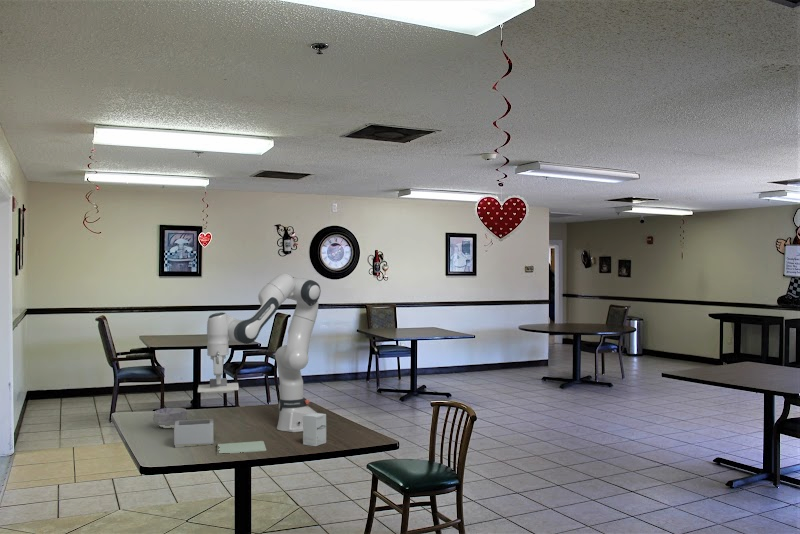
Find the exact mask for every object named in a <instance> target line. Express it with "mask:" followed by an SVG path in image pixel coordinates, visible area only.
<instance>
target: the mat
mask: <svg viewBox="0 0 800 534" xmlns="http://www.w3.org/2000/svg"><path fill="white" fill-rule="evenodd" d="M217 444H218V446H219V447H220V448H219V449H218V450H220V451H219V453H230V454H240V452H241V454H242V452H244V453H254V452H266V451H267V448H266V445H265V442H264V440H257V441H243V442H229V443H217Z"/></svg>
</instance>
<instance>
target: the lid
mask: <svg viewBox="0 0 800 534" xmlns="http://www.w3.org/2000/svg"><path fill="white" fill-rule="evenodd" d="M239 388H240V386H239V382H231V383H230V382H229V383H228V377H223V378H222V377H221V384H216V378H209V383H208V384H198V387H197V393H203V395H209V394H210V395H212V394H226V393H233V392H234V391H239Z"/></svg>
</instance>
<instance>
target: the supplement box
mask: <svg viewBox="0 0 800 534" xmlns="http://www.w3.org/2000/svg"><path fill="white" fill-rule="evenodd" d="M326 443H327V414H326V413H322V412H321V413H320V412H317V413H311V414H307V415H303V431H302V445H304V446H305V445H306V446H309V447H317V446H321V445H324V444H326Z"/></svg>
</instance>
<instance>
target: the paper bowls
mask: <svg viewBox="0 0 800 534" xmlns="http://www.w3.org/2000/svg"><path fill="white" fill-rule="evenodd" d="M187 413H188V411H187V409H186V408H183V407H167V408H166V407H165V408H160V409H157V410H155V411H153V422H154V423H155V424H157V425H158V424H159V425H165V426H170V425H175V422H176V421H182V420H187V419H188V418H187V417H188V414H187Z"/></svg>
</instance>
